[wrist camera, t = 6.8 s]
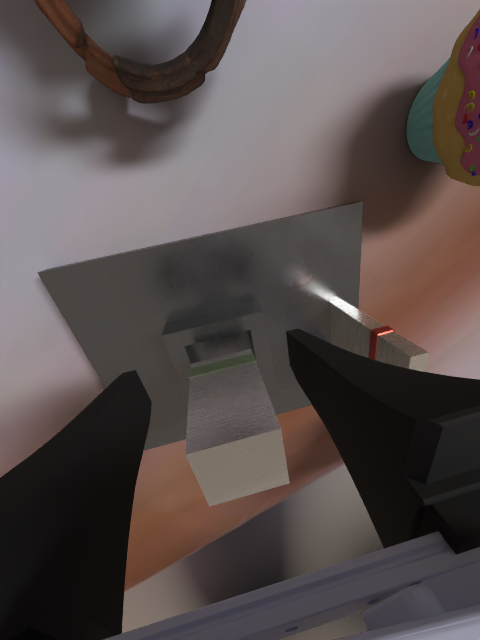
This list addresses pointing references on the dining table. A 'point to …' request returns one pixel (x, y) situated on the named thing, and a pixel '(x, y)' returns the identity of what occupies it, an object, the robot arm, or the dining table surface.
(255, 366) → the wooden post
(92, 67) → the broken terracotta ring
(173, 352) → the stand base
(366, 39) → the dining table surface
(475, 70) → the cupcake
